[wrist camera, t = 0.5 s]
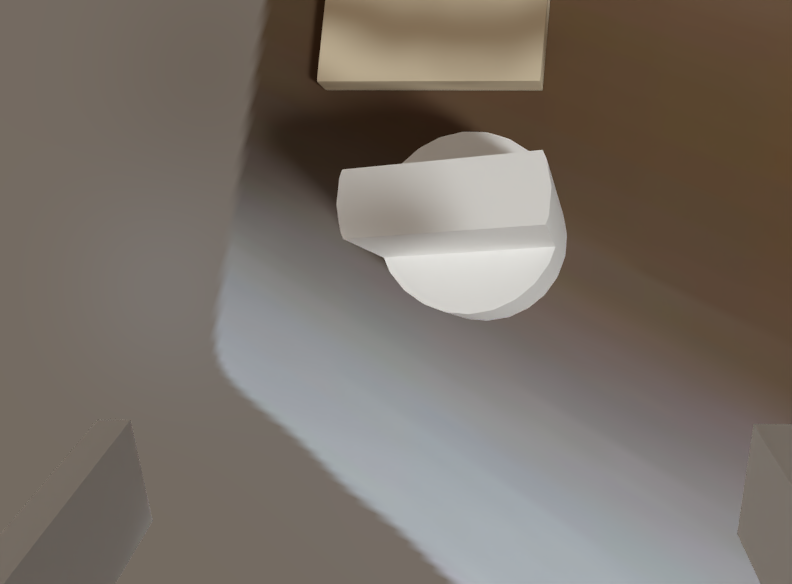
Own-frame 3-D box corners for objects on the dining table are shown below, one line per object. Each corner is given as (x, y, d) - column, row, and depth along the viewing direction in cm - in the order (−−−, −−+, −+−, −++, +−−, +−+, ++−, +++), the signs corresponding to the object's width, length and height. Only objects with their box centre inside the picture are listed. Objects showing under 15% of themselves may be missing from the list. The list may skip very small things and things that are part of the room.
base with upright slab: (409, 323, 43) (338, 310, 32) (405, 169, 44) (334, 101, 32) (570, 317, 41) (556, 300, 29) (563, 154, 42) (546, 76, 30)
